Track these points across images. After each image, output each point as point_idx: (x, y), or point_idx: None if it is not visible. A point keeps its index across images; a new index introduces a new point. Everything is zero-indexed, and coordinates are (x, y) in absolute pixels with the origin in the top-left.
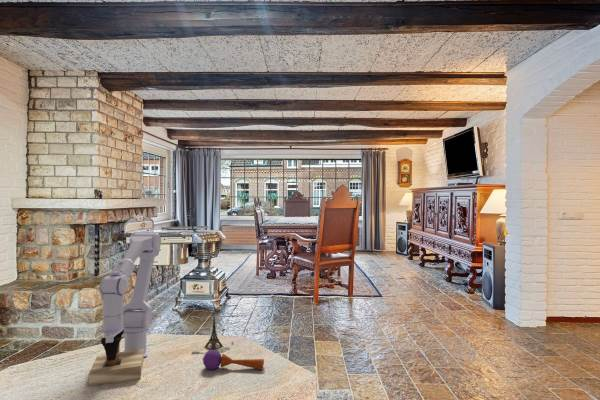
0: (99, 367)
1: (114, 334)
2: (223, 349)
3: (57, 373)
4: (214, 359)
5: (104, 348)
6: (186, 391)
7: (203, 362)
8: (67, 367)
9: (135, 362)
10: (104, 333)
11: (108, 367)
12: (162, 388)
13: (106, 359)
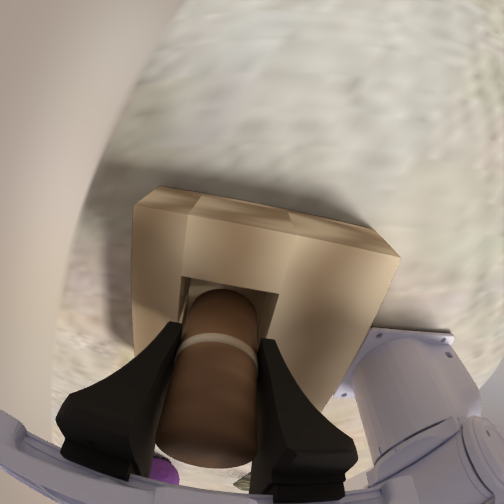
0: (186, 260)
1: (34, 487)
2: (248, 487)
3: (405, 57)
4: None
5: (115, 372)
6: (62, 402)
7: (152, 467)
8: (447, 107)
9: None
10: (48, 484)
11: (166, 301)
12: (78, 380)
13: (212, 315)
